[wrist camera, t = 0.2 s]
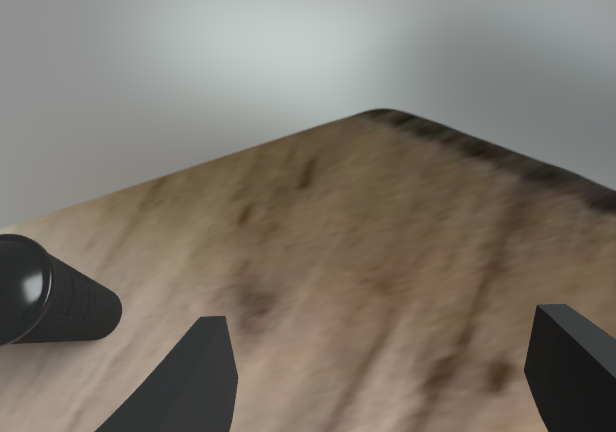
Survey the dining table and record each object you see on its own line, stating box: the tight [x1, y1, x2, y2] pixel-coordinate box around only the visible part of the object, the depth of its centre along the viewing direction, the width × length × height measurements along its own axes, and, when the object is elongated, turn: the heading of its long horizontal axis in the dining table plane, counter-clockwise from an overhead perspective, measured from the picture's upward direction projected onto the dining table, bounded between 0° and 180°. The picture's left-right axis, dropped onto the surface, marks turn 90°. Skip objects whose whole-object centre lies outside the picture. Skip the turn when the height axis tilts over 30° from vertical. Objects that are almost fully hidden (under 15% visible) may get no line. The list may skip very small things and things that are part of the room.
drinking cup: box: [0, 234, 122, 347], centre depth 32 cm, size 8×8×20 cm
